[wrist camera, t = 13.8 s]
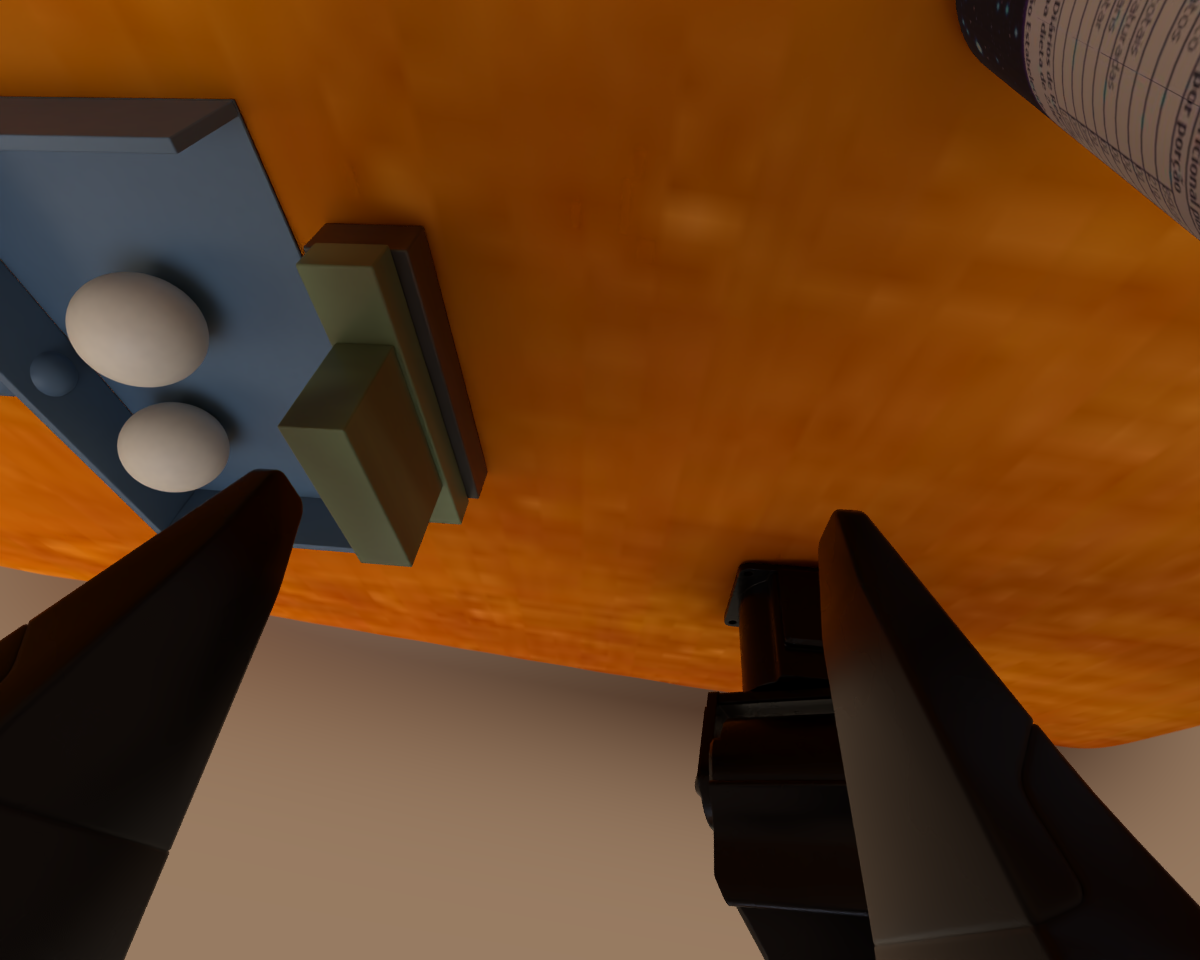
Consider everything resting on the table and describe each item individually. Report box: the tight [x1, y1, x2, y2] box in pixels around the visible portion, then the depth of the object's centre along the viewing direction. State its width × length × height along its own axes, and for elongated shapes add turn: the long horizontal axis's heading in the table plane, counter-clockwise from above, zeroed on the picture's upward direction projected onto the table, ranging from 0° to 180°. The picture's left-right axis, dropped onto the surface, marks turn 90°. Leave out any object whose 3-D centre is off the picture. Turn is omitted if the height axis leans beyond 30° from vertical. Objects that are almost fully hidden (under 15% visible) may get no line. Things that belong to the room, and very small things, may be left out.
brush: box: [278, 224, 487, 567], centre depth 21 cm, size 3×12×7 cm, turn 1°
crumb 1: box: [65, 272, 209, 387], centre depth 20 cm, size 4×4×4 cm
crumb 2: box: [117, 402, 230, 492], centre depth 25 cm, size 4×4×4 cm
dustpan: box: [0, 97, 355, 553], centre depth 23 cm, size 22×19×3 cm
